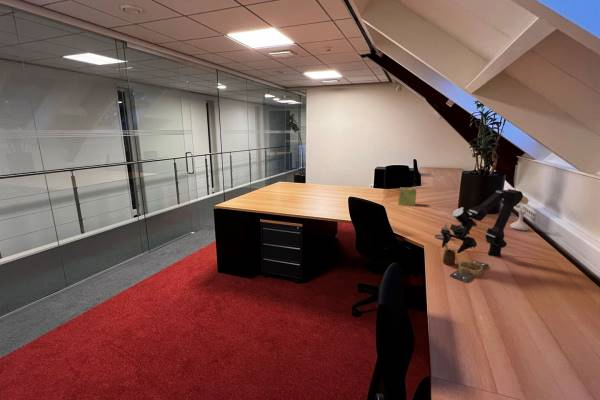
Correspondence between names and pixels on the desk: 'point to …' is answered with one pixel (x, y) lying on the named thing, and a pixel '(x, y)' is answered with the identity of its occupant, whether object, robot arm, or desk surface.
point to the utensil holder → (449, 256)
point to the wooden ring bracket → (468, 274)
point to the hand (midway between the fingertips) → (449, 249)
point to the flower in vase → (521, 217)
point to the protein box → (407, 196)
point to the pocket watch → (441, 235)
